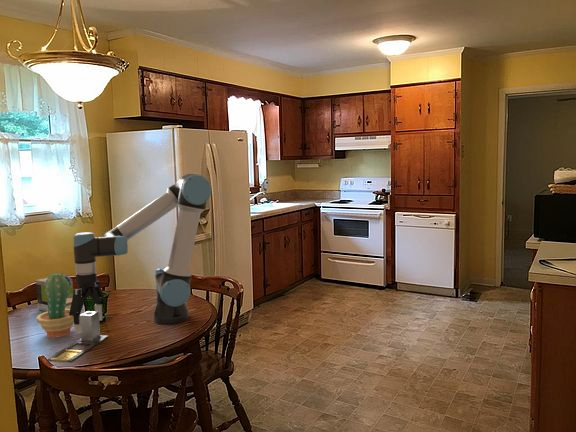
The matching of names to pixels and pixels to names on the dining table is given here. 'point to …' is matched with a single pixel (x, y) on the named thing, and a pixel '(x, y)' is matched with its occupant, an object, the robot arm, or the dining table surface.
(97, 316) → the grey rectangular block
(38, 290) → the tea box
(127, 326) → the dining table surface
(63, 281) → the potted cactus
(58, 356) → the grey flat rectangular frame
